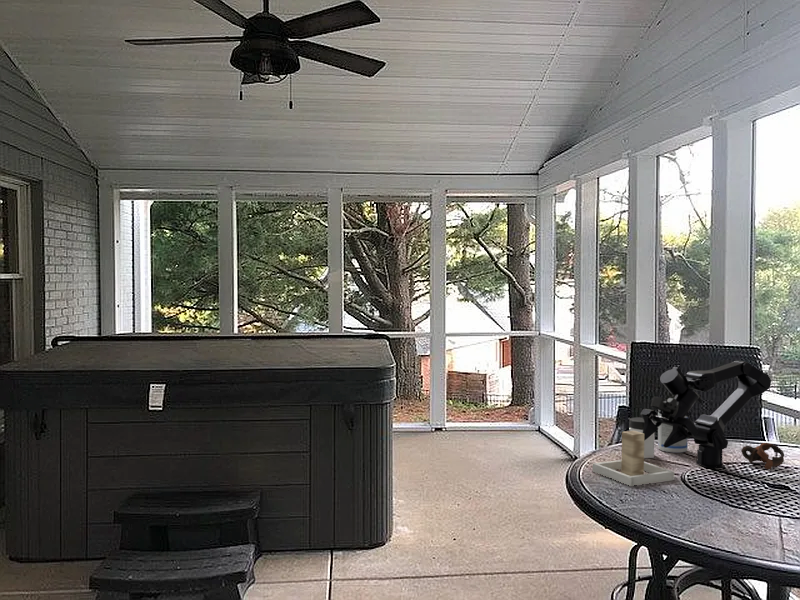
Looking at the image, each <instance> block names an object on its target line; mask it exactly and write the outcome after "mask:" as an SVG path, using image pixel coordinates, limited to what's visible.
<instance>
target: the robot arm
mask: <svg viewBox="0 0 800 600" xmlns="http://www.w3.org/2000/svg"><path fill="white" fill-rule="evenodd" d="M735 377H736V379H737V380H738V382H737V383H738V384H737V385H738V386H737V388H736V389H735V390H734V391H733V392H732V393H731V394H730V395H729V396H728V397H727V399H725V401H723V403H721V404H720V406H719V407H718V408H717V409H715V411H714V412H713V413H711V415H709V414H708V415H707V414H705V413H704V414H700V416H699V417H698V418H697V419H696V420H694V421H692V419H690V418H689V417H690V415H691V413H689V412H690V410H691V409H692V408H693V406H694V405H695V404H699V405H702V404H703V400H702V394H700V393H699V394H698V393H697V392H698V391H699V392H704V393H706V392H708V391H710V390H713V388H715V387H716V385H717V384H718V383H721V382H724V381H727V380H730V379H732V378H735ZM659 381H660V382H661V384H662V385H664V388H666V390H667V391H668V392H669V393H670V394H671V395H674V397H673V398H672V397H669V398H667V399H666V398H664V397H659V396H653V398H652V401H651V404H650V407H652V408H655V409H657V410H658V411H655V409H649V408H643V409H642V411H641V412H640V416H641V418H643V419H644V429H643V433H644V441H645V440H646V439H647V438H649V437H650V436H651V435H652V434H653V433H654V432H655V433H656V432H658V427H659V426H660V425H661V424H662V423H663V424H667V425H670V426H673V430H672V432H671V433H670V435H669V436H668V438H667V439H666V441H665V443H664V445H663V446H664V447H665V448H667V447H669V446H671V445H673V444H675V443H677V442H679V441H682V440H684V439H687V438H688V439H690V438H693V441H694V444H696V445H698V449H697V450H696V453H697V454H696V455H697V456H696V460H695V463H696V464H697V465H700V466H702V467H704V468H708V469H711V468H714V469H715V468H717V469H718V468H726V465H725V464H723V450H725V449H727V448H728V444H729V441H728V439H727V438H726V436H724V434H725V430H726V429H725V428H726V426H727V424H728V423H729V422H730V421H731V420H732V419H733V418H734V417H735V416H736V415H737V414H738V412H739V411H741V409H742V408H744V406H745V405H746V404H747V403H748V402H749V401H750V400H751V399H752V398H754V397H757V396H760V395H762V394H764V393H766V392H767V391H768V390H769V389H770V387H771V384H772V380H771V377H770V376H769V374H768V373H766V372H763V371H762V370H761V369H758V368H757V367H754V366H753V365H752V364H751V363H749V362H748V361H743V360H733V361H731V362H729V363H727V364H723V365H721V366H720V365H719V366H718V367H717V366H716V367H714V368H711V369H707V370H690V371H687V373H686V374H683V372H682V370H681V368H680V367H677V366H673V367H672V368H671V369H668V370H666V371H665V372H662V374H661V375H660V377H659ZM696 391H697V392H696ZM658 412H659V413H660V414H661V416H659V415H658ZM685 416H686V417H688V418H684V417H685Z"/></svg>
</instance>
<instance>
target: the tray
mask: <svg viewBox="0 0 800 600" xmlns="http://www.w3.org/2000/svg"><path fill="white" fill-rule="evenodd" d="M621 461H622V459H618V460H612V461H611V460H610V461H602V462H593V463H592V472H593V473H595V474H597V473H598V474H597V475H600V474H601V475H600V476H602V475H603V476H602V477H605V476H606V477H605V478H607V477H609V478H608V479H610V478H612V479H611V480H613V479H614V480H613V481H615V480H616V482H618V481H619V482H618V483H620V482H621V484H623V483H624V484H623V485H625V484H627V485H626V486H628V485H629V486H628V487H635V486H634V485H637V486H642V484H644V485H649V483H651V484H655V483H656V484H657V483H662V482H670V481H675V471H673V470H670V469H668V468H666V467H661V466H658V465H656V464H654V463H653V464H652V463H649V462H646V461H644V472H645V471H646V473H644V474H643V475H635V476H629V475H626V474H624V473H621V472H620V471H619V470H621ZM617 469H619V470H617ZM648 472H649V473H648Z"/></svg>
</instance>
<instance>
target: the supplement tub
mask: <svg viewBox="0 0 800 600" xmlns="http://www.w3.org/2000/svg"><path fill="white" fill-rule="evenodd" d="M657 414H658V415H659V416H661V414H660V413H659V412H658V411H657ZM684 418H688V419H689V417H686V416H685V417H684ZM657 428H658V430H657V448H658V450H660V451H663V452H666V453H670V454H671V453H674V454H680V453H685V452H687V450H688V448H689V447H688V443H689V442H688V439H689V438H687V439H684V440H682V441H679V442H677V443H675V444H673V445H671V446H669V447H667V448H665V447H664V446H663V445H664V443H665V441H666V439H667V438H668V436H669V435H670V433H671V432H672V430H673V426H670V425H667V424H663V423H662V424H661V425H660V426H659V427H657Z"/></svg>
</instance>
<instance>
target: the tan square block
mask: <svg viewBox="0 0 800 600" xmlns="http://www.w3.org/2000/svg"><path fill="white" fill-rule="evenodd" d="M621 460H622V461H621V469H620V471H621V473H624V474H626V475H629V476H635V475H643V474H645V471H644V462H645V458H644V433H640V432H637V431H629V430H626V431H622V432H621Z"/></svg>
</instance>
